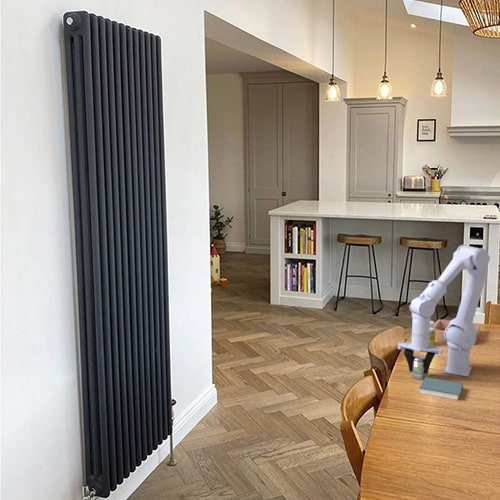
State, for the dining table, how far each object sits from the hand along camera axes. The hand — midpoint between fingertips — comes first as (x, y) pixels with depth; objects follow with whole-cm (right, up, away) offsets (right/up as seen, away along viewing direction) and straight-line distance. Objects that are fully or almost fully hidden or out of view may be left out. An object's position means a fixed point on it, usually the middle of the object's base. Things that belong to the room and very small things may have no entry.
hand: (418, 372), depth 211 cm
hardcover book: (+4, -4, -12) cm, 13 cm away
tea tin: (0, -2, 0) cm, 2 cm away
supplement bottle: (+13, +4, +35) cm, 37 cm away
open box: (+28, +6, +46) cm, 54 cm away
